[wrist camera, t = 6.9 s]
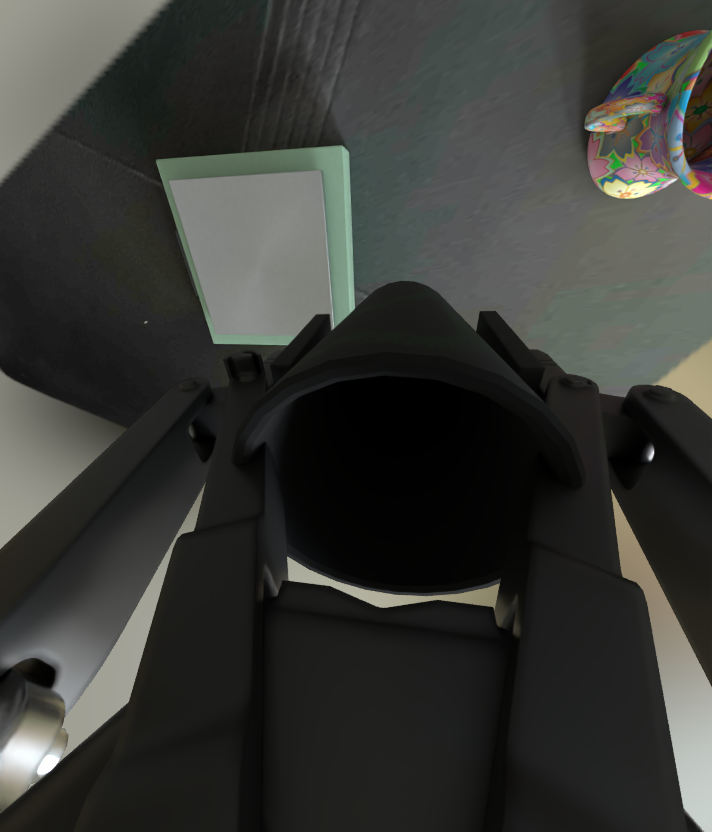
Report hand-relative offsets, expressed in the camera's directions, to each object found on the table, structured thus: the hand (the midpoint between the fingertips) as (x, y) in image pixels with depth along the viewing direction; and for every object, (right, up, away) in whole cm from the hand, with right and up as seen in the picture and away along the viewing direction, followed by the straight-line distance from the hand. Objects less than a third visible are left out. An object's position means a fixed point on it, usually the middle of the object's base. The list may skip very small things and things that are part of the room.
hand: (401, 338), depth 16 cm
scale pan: (-11, +10, +12) cm, 19 cm away
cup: (0, 0, +1) cm, 1 cm away
